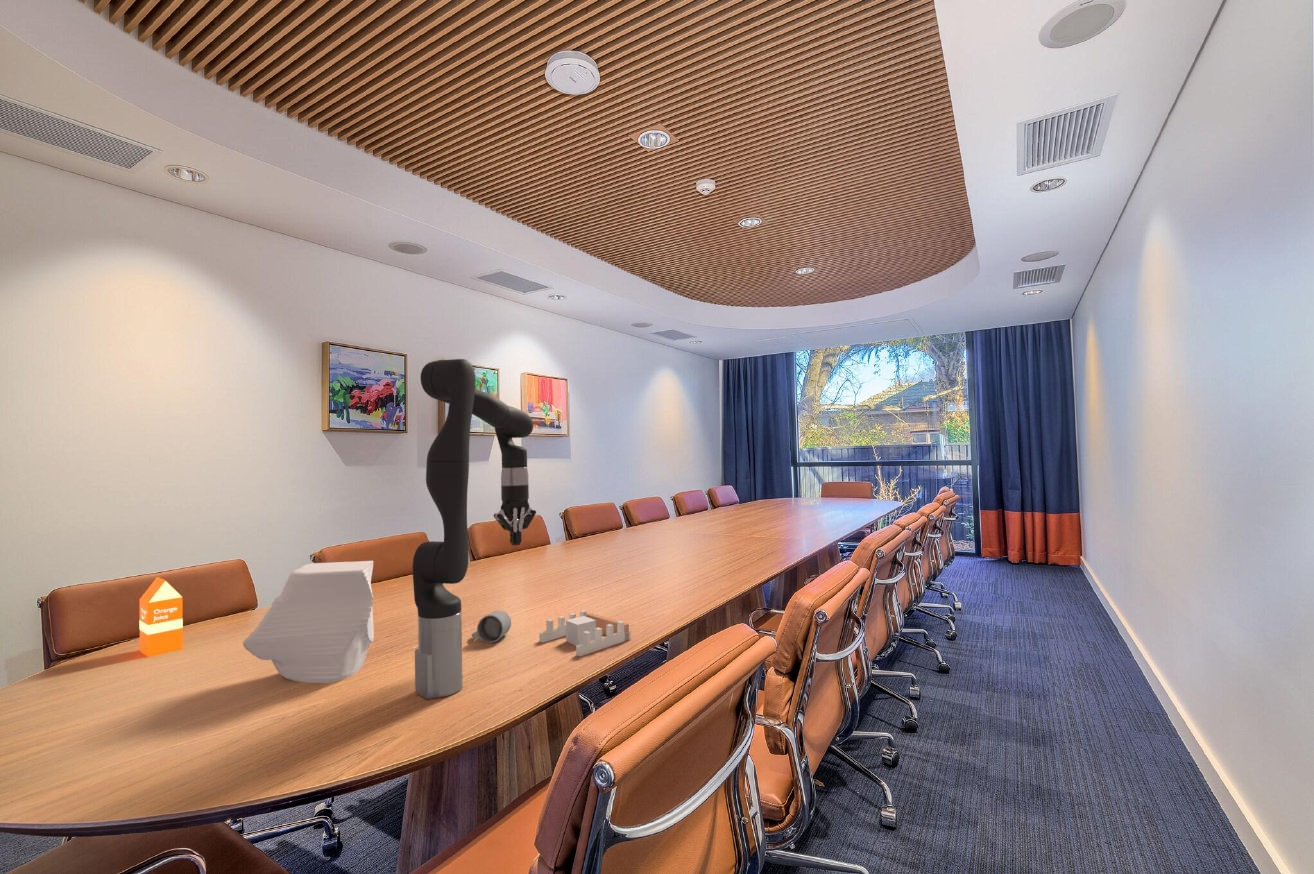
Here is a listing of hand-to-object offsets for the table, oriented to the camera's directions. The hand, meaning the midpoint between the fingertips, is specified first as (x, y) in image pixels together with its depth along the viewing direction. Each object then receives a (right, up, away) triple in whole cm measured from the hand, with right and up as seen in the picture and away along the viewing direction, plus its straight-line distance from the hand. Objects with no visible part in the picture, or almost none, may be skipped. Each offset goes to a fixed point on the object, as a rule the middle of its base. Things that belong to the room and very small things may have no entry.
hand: (515, 545), depth 165 cm
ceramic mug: (-8, -28, +2) cm, 29 cm away
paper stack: (-44, -28, -19) cm, 55 cm away
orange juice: (-99, -29, -1) cm, 103 cm away
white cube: (+19, -27, -2) cm, 33 cm away
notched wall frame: (+20, -27, -1) cm, 33 cm away
